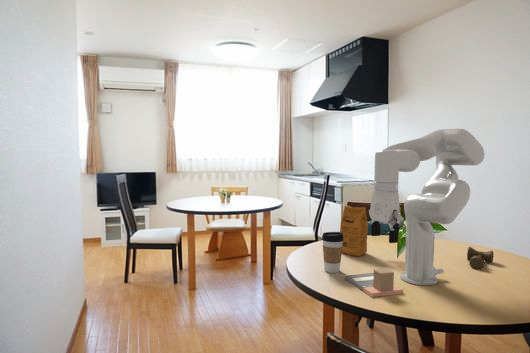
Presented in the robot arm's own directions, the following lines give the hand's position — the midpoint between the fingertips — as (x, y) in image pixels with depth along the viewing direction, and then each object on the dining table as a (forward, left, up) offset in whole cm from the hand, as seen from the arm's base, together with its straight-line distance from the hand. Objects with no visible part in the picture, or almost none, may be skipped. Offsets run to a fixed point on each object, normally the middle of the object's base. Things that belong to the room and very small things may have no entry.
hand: (384, 239), depth 117 cm
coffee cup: (+6, -25, -18) cm, 31 cm away
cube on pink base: (0, 0, -18) cm, 18 cm away
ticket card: (0, -9, -18) cm, 20 cm away
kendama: (-59, -17, -19) cm, 64 cm away
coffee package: (-15, -45, -18) cm, 51 cm away
